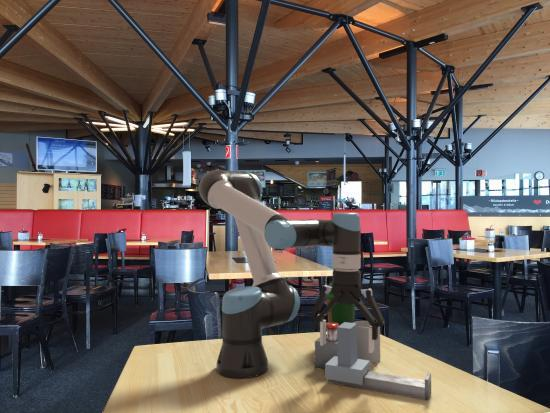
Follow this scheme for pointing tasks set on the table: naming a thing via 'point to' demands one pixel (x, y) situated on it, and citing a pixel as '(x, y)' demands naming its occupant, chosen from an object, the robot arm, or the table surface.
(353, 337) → the carriage
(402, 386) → the rail
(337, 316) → the bottle
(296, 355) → the table surface
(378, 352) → the mug
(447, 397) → the table surface
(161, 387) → the table surface
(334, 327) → the plunger
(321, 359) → the grey cube box
